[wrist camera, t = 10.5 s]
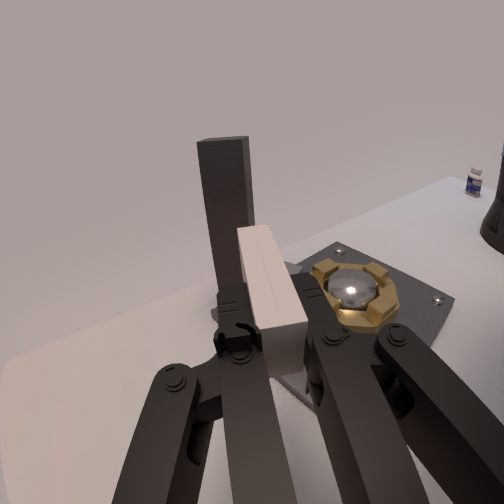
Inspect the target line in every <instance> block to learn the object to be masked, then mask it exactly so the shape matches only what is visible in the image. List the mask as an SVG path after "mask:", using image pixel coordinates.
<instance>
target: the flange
mask: <svg viewBox="0 0 504 504" xmlns="http://www.w3.org/2000/svg"><path fill="white" fill-rule="evenodd" d="M327 258H329V259H331V260H332V261H334V262H336V263H347V264H360V265H367V264H369V263H371V262H375V263H377V264H379V265H380V266H382V267H384V268H385V269H387V270H389V274H388V278H389V279H391V280H392V281H393V282H394V284H395V288H396V292H397V296H398V300H399V304H400V308H399V311H398V313H397V316H396V319H395V322H394V323H399V324H403V325H405V326H407V327H408V328H409V329H411V330H412V331H413V332H414V333H415V334H416V335H417V336H418V337H419V338H420V339H421V340H422V341H423V342H424V343H425V344H426V345H427V346H428V347H430V345H431V344H432V342H433V340H434V339H435V337H436V335H437V333H438V332H439V330H440V328H441V326H442V324H443V323H444V321H445V319H446V317H447V315H448V313H449V311H450V309H451V307H452V305H453V303H454V301H455V298H453V297H451V296H449V295H447V294H445V293H443V292H441V291H439V290H437V289H435V288H433V287H431V286H429V285H427V284H426V283H424V282H422V281H420V280H418V279H416V278H414V277H412V276H409V275H407V274H405V273H403V272H401V271H399V270H397V269H395V268H393V267H391V266H389V265H387V264H385V263H383V262H380V261H378V260H376V259H374V258H372V257H370V256H368V255H366V254H363V253H361V252H359V251H357V250H355V249H352V248H350V247H348V246H346V245H344V244H341V243H339V242H335V243H333V244H331V245H330V246H328V247H326V248H324V249H323V250H321V251H319V252H317V253H316V254H314V255H312V256H310V257H309V258H307V259H305V260H303V261H301V262H300V263H298V264H296V265H295V264H292V263H288V262H285V261H284V263H285V266H286V268H287V270H288V273H289V275H292V274H298V273H304V272H309V273H311V272H312V268H313V265H314V264H316V263H319V262H321V261H323V260H325V259H327ZM376 289H377V284H376V281H375V280H374V278H373V277H372V276H371V275H369V274H368V273H366V272H364V271H361V270H357V269H341V270H338V271H336V272H334V273H333V274H332V275H331V276H330V278H329V283H328V291H327V292H328V293H329V294H330V295H332V296H333V297H334V298H336V299H337V300H338V301H340V306H339V309H340V310H351V311H367V307H368V304H369V303H370V302H372V301H373V300H374V297H375V293H376ZM211 315H212V317H213V318H214V319H215V320H216V321H217V323H218V309H217V307H216V308H214V309H212V310H211ZM275 378H276V379H277V380H278V381H279V382H280V383H281V384H282V385H284V386H285V387H286V388H287V389H288V390H289V391H290V392H291V393H293V394H294V395H295V396H296V397H297V398H298V399H300V400H301V401H302V402H303V403H304V404H305V405H307V406H308V407H309V408H310V409H311V410H313V411H314V412H315V408H314V405H313V402H312V399H311V395H310V392H309V394H306V393H305V388H306V381H307V371H306V368H305V365H304V370H303V372H299V373H294V374H289V375H284V376H279V377H275ZM315 413H316V412H315Z"/></svg>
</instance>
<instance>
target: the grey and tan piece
mask: <svg viewBox="0 0 504 504" xmlns="http://www.w3.org/2000/svg"><path fill="white" fill-rule="evenodd" d="M197 150H198V158H199V166H200V174H201V181H202V188H203V196H204V203H205V209H206V216H207V223H208V229H209V235H210V242H211V248H212V254H213V260H214V266H215V272H216V278H217V284H218V289H220V288H221V286H223V285H230V284H237V283H244V280H243V275H242V267H241V259H240V250H239V242H238V234H237V228H242V227H249V226H255V220H254V205H253V193H252V192H253V191H252V177H251V164H250V151H249V137H248V136H236V137H221V138H208V139H204V140H201V141H198V142H197ZM341 269H357V270H361V271H364V272H366V273H368V274H369V275H371V276H372V277H373V278H374V280H375V281H376V284H377V289H376V293H375V297H374V300H373V301H372V302H370V303H369V304H368V307H367V311H351V310H340V309H339V306H340V301H338V300H337V299H336V298H334V297H333V296H332V295H330V294H329V293H328V292H327V291H328V283H329V278H330V276H331V275H332V274H333V273H334V272H336V271H338V270H341ZM310 274H311V275H313V276H314V277H315V278H316V279H317V280H318V282H319V284H320V286H321V289H322V290H323V291H324V293H325V296H326V297H327V299H328V301H329V303H330V305H331V307H332V309H333V311H334V312H335V314H336V316H337V318H338V320H339V322H340V323H342V324H344V325H346V326H347V327H349V328H350V329H351V331H352V332H356V333H364V334H378V333H379V330H380V329H381V328H382V327H383V326H384V325H386V324H389V323H394V322H395V319H396V316H397V313H398V311H399V308H400V304H399V300H398V296H397V292H396V288H395V284H394V282H393V281H392V280H391V279H389V278H388V274H389V270H387V269H385V268H384V267H382V266H380V265H379V264H377V263H375V262H371V263H369V264H367V265H360V264H347V263H336V262H334V261H332V260H331V259H329V258H327V259H325V260H323V261H321V262H319V263H316V264H314V265H313V268H312V272H311V273H310Z"/></svg>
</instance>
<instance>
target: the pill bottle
mask: <svg viewBox="0 0 504 504" xmlns="http://www.w3.org/2000/svg"><path fill="white" fill-rule="evenodd" d="M481 173H482V170H481V169H480V168H477V167H474V166H472V167H471V172H470V173H469V174H468V180H467V186H466V193H467V194H468V195H470V196H473V197H479V195H480V189H481V184H482V177H481Z"/></svg>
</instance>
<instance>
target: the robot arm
mask: <svg viewBox="0 0 504 504" xmlns="http://www.w3.org/2000/svg"><path fill="white" fill-rule="evenodd" d="M501 155H502V163H501V169H500V176H499V181H498V186H497V192H496V197H495V200H494V202H493V204H492V206H491V207H490V209H489V211H488V213H487V214H486V216H485V218H484V219H483V222H482V225H481V229H480V232H481V235H482V236H483V238H484V239H485V240H486V241H487V242H488V243H489V244H490V245H491V246H493V247H494V248H495V249H497V250H498V251H500V252H502V253H503V254H504V145H503V152H502V153H501ZM237 234H238V242H239V250H240V259H241V267H242V275H243V280H244V283H237V284H230V285H223V286H221V288H220V289H219V291H218V293H217V309H218V326H219V328H218V329H217V330H216V332H215V334H214V338H213V341H214V344H215V348H216V351H217V353H216V354H215V355H214V357H213V358H211V359H210V360H209V361H207V362H205V363H203V364H201V365H198V366H195V367H193V368H190V367H189V366H187V365H184V364H181V363H178V364H170V365H167V366H165V367H163V368H162V369H161V370H159V371H158V373H157V374H156V376H155V377H154V380H153V382H152V385H151V387H150V390H149V393H148V395H147V398H146V401H145V404H144V406H143V409H142V412H141V415H140V417H139V420H138V423H137V426H136V429H135V432H134V434H133V437H132V440H131V443H130V446H129V449H128V452H127V455H126V458H125V461H124V464H123V467H122V471H121V474H120V477H119V480H118V483H117V487H116V490H115V493H114V497H113V500H112V504H197V502H198V498H199V493H200V488H201V483H202V478H203V473H204V468H205V463H206V458H207V453H208V449H209V444H210V439H211V434H212V429H213V424H214V421H215V420H218V419H220V418H223V420H224V430H225V440H226V449H227V457H228V466H229V474H230V481H231V489H232V496H233V503H234V504H297V500H296V496H295V492H294V487H293V483H292V479H291V475H290V470H289V466H288V462H287V457H286V453H285V449H284V444H283V440H282V435H281V431H280V427H279V422H278V418H277V413H276V409H275V404H274V400H273V395H272V391H271V386H270V382H269V378H273V377H279V376H284V375H289V374H294V373H299V372H303V370H304V365H305V368H306V371H307V381H306V388H305V393H306V394H309V392H310V395H311V399H312V402H313V405H314V408H315V412H316V415H317V418H318V421H319V425H320V428H321V431H322V435H323V438H324V441H325V444H326V448H327V451H328V454H329V458H330V461H331V464H332V468H333V471H334V475H335V478H336V481H337V485H338V488H339V492H340V495H341V498H342V502H343V504H430V503H429V500H428V497H427V495H426V492H425V489H424V487H423V484H422V481H421V479H420V476H419V474H418V471H417V469H416V466H415V464H414V461H413V459H412V456H411V454H410V452H409V449H408V447H407V445H408V446H409V447H410V449H411V450H412V451H413V453H414V454H415V455H416V456H417V458H418V459H419V460H420V461H421V463H422V464H423V465H424V467H425V468H426V469H427V470H428V472H429V473H430V474H431V475H432V477H433V478H434V479H435V480H436V482H437V483H438V484H439V486H440V487H441V488H442V489H443V491H444V492H445V493H446V494H447V496H448V497H449V498H450V500H451V501H452V502H453V503H454V504H504V426H503V425H502V423H501V422H500V421H499V420H498V419H497V418H496V417H495V415H494V414H493V413H492V412H491V411H490V410H489V409H488V408H487V406H486V405H485V404H484V403H483V402H482V401H481V400H480V399H479V398H478V397H477V396H476V394H475V393H474V392H473V391H472V390H471V389H470V388H469V387H468V386H467V385H466V384H465V383H464V382H463V381H462V380H461V379H460V378H459V377H458V376H457V375H456V373H455V372H454V371H453V370H452V369H451V368H450V367H449V366H448V365H447V364H446V363H445V362H444V361H443V360H442V359H441V358H440V357H439V356H438V355H437V354H436V353H435V352H434V351H433V350H432V349H431V348H429V347H428V346H427V345H426V344H425V343H424V342H423V341H422V340H421V339H420V338H419V337H418V336H417V335H416V334H415V333H414V332H413V331H412V330H411V329H409V328H408V327H407V326H405V325H403V324H399V323H389V324H386V325H384V326H383V327H382V328H381V329H380V330H379V333H378V334H364V333H356V332H352V331H351V329H350V328H349V327H347V326H346V325H344V324H342V323H340V322H339V320H338V318H337V316H336V314H335V312H334V311H333V309H332V307H331V305H330V303H329V301H328V299H327V297H326V296H325V293H324V291H323V290H322V289H321V286H320V284H319V282H318V280H317V279H316V278H315V277H314V276H313V275H311V274H310V273H309V272H304V273H298V274H292V275H289V273H288V270H287V268H286V266H285V263H284V261H283V259H282V256H281V254H280V252H279V249H278V247H277V245H276V242H275V240H274V238H273V235H272V233H271V231H270V229H269V226H268V224H265V225H257V226H249V227H242V228H237Z"/></svg>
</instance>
